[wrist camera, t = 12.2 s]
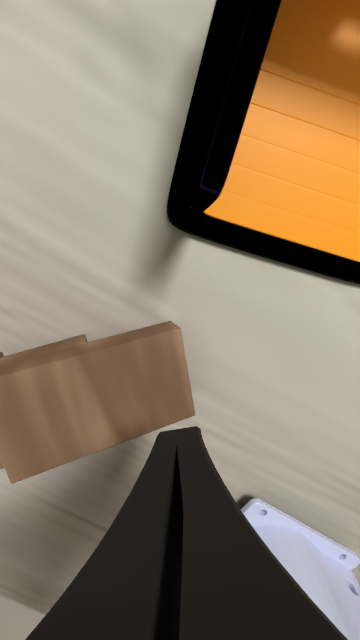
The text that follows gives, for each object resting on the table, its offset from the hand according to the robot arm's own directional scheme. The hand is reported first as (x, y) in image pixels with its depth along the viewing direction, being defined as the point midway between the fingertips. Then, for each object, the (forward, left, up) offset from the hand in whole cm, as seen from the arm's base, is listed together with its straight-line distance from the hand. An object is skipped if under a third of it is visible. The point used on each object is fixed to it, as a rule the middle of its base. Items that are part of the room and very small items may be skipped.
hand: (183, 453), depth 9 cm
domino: (0, 0, -6) cm, 6 cm away
